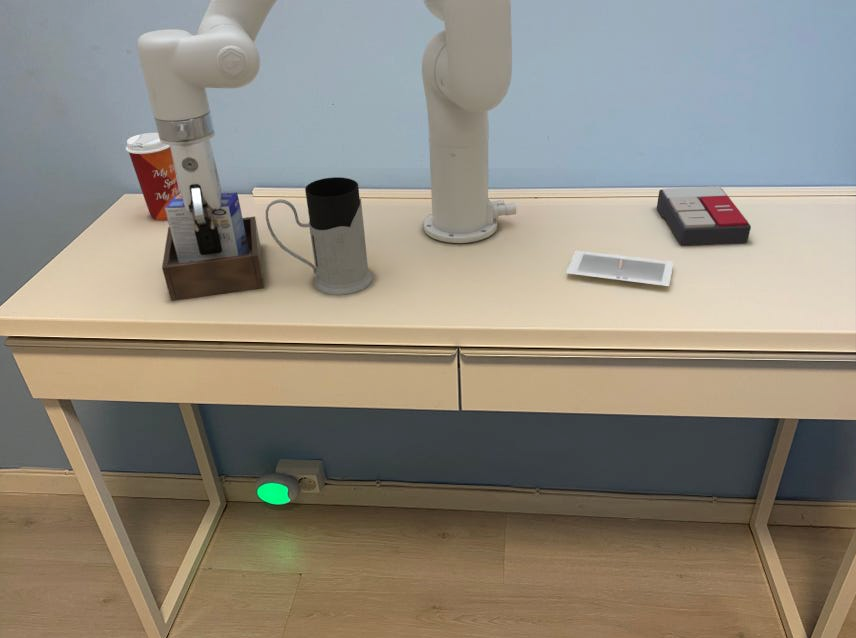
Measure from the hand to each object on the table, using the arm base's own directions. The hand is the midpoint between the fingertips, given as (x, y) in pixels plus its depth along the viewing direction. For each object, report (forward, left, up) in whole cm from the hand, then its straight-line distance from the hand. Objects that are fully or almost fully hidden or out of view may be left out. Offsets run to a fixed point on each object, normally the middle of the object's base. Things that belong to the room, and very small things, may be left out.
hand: (211, 242), depth 115 cm
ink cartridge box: (0, 0, -5) cm, 5 cm away
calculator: (-80, +6, -5) cm, 80 cm away
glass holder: (-16, +8, -5) cm, 19 cm away
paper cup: (+9, -27, -5) cm, 29 cm away
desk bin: (0, 0, -5) cm, 5 cm away
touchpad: (-60, +18, -5) cm, 63 cm away
